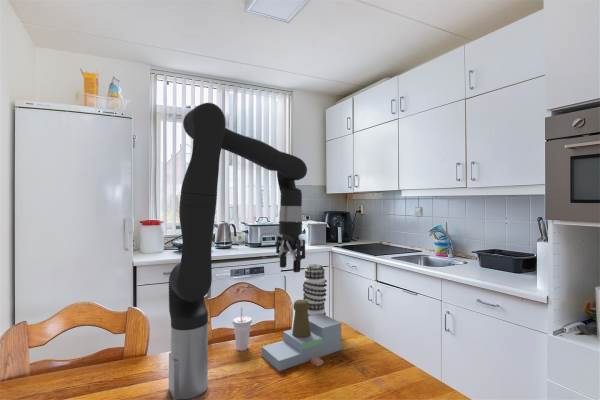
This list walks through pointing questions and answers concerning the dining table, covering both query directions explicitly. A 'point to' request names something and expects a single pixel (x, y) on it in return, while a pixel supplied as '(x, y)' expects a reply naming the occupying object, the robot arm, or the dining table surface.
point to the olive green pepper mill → (301, 319)
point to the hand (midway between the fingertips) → (289, 269)
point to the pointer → (316, 361)
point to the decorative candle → (315, 289)
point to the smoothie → (242, 331)
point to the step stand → (305, 343)
